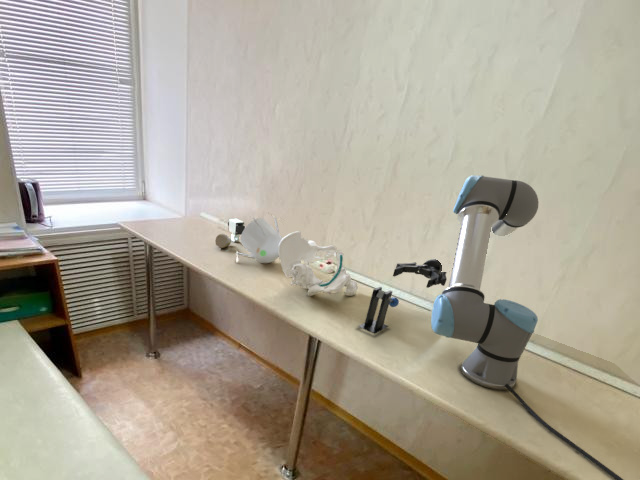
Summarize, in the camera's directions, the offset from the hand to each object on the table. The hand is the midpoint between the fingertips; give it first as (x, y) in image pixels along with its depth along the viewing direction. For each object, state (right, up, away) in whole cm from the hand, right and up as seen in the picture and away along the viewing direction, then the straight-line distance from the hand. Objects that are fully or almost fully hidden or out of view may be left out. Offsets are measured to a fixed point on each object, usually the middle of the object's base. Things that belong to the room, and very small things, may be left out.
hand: (411, 278), depth 155 cm
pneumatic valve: (-69, +36, +73) cm, 107 cm away
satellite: (-55, +19, +48) cm, 76 cm away
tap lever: (-12, -11, -7) cm, 17 cm away
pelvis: (-33, -1, +21) cm, 39 cm away
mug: (-75, +30, +63) cm, 102 cm away
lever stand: (-16, -20, -6) cm, 26 cm away
